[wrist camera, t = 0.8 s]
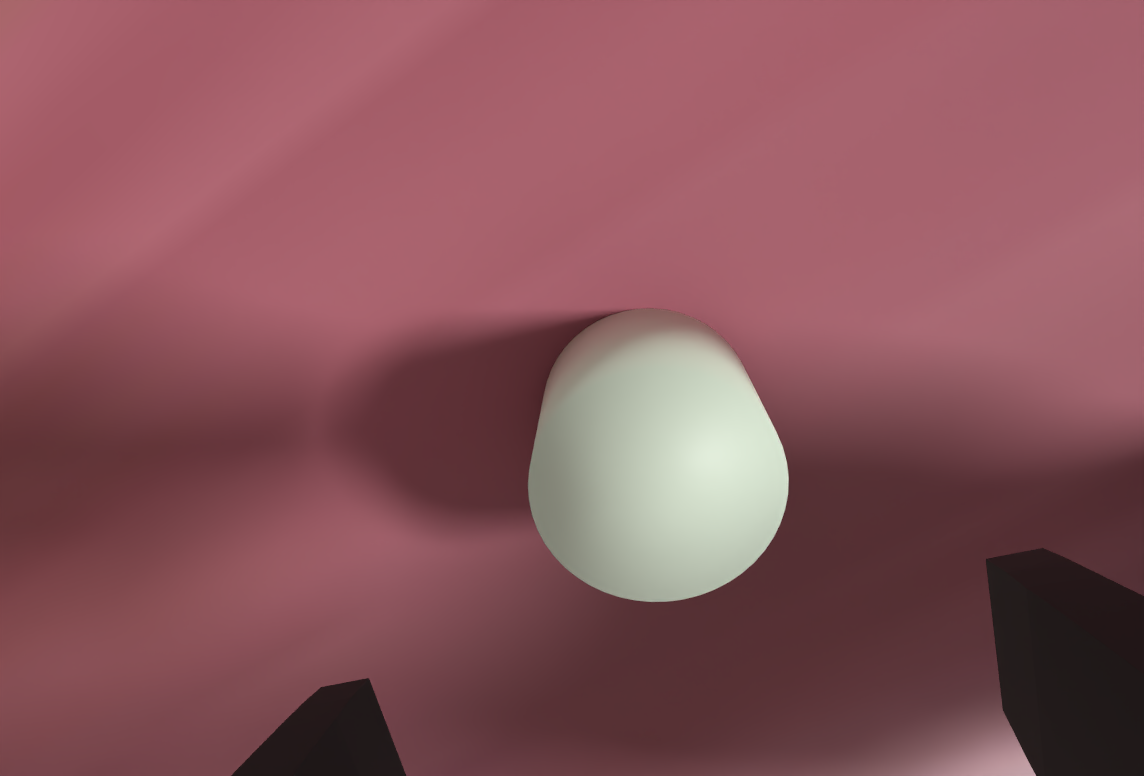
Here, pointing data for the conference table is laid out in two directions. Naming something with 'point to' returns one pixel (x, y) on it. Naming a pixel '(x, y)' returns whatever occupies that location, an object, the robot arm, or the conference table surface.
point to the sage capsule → (655, 459)
